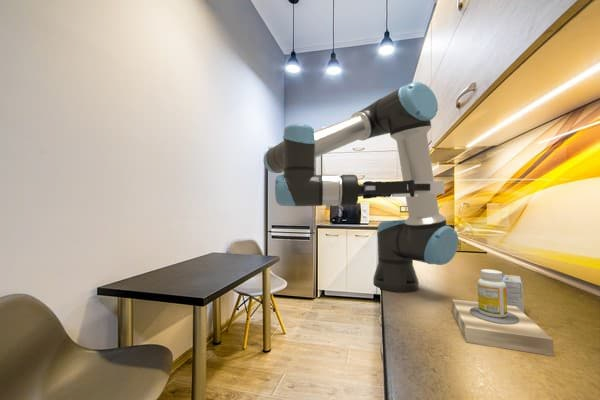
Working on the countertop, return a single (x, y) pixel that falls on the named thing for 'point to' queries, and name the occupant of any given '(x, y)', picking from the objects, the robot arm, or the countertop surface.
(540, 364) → the countertop surface
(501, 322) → the birch board
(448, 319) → the countertop surface
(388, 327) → the countertop surface
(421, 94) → the robot arm
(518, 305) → the medicine box
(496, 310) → the supplement bottle
